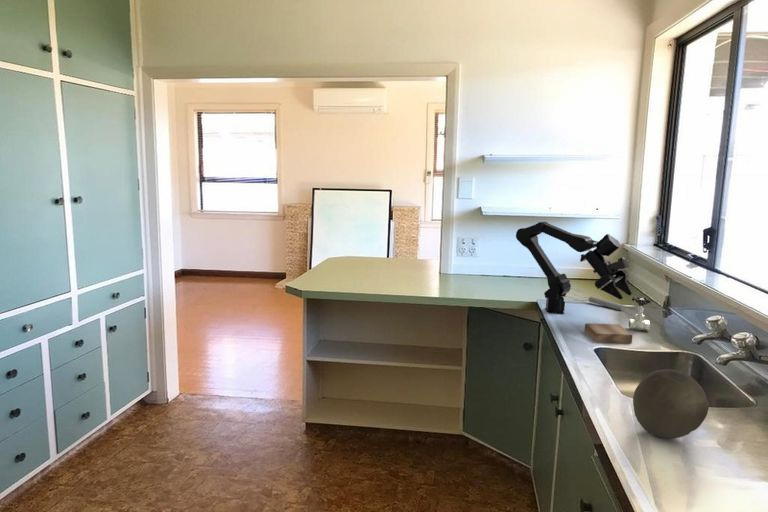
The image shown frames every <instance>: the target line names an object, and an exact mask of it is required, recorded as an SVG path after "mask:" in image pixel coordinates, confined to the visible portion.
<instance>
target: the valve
mask: <svg viewBox="0 0 768 512" xmlns="http://www.w3.org/2000/svg"><path fill="white" fill-rule="evenodd" d="M631 301H632V302H635V303H637V305H638V308H637V313H636V314H635V319H634V318H630V319H628V323H627V324H628V329H629V330H636V331H650V328H651V322H650V320H648V319H645V314H644V308H643V307H644V306H646V305H648V304H651V302H652V299H651V298H648V297H642V296H632V298H631Z"/></svg>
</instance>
